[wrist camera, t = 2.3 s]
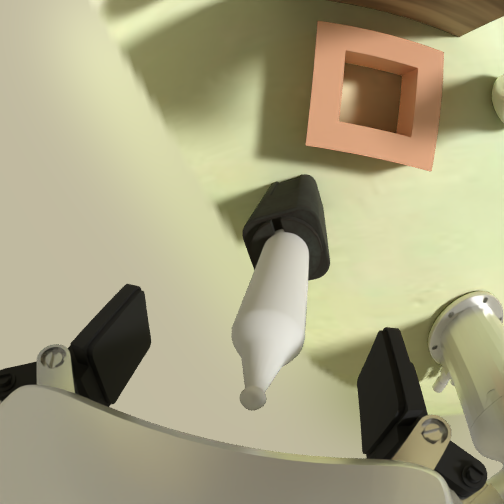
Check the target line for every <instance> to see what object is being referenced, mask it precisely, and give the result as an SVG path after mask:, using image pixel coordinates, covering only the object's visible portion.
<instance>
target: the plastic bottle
mask: <svg viewBox="0 0 504 504" xmlns="http://www.w3.org/2000/svg"><path fill="white" fill-rule="evenodd" d="M492 103H493V107H494V109H495V111H496V113H497V115H498V117H499V118H500V120H501V121H502V122H503V123H504V75H502V76H500V77H498V78H497V79H496V81H495V82H494V85H493V89H492Z"/></svg>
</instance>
